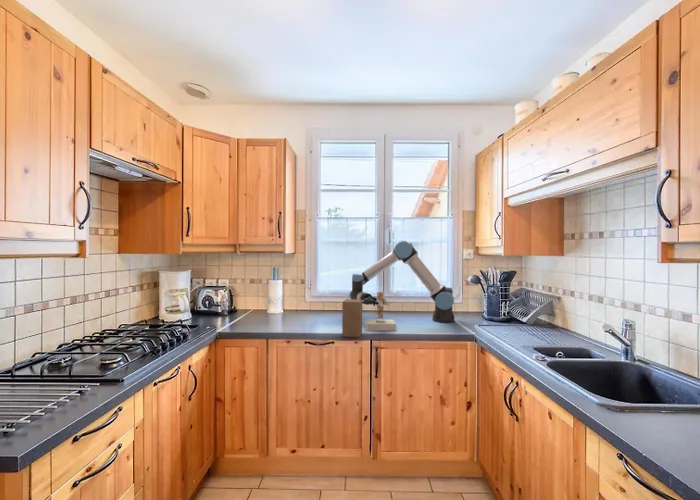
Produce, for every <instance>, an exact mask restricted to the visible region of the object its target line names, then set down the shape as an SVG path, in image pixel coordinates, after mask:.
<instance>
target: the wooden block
mask: <svg viewBox="0 0 700 500" xmlns="http://www.w3.org/2000/svg"><path fill="white" fill-rule="evenodd" d="M341 307H342V311H341V312H342V313H341V314H342V318H341V319H342V324H341V326H342V328H341V329H342V330H341V331H342V333H341V336H342V337H345V338H360V337H361V335H362V334H363V304H362V300H354V299H350V298H347V299H344V300H343V301H342V306H341Z"/></svg>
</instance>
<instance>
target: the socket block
mask: <svg viewBox="0 0 700 500" xmlns="http://www.w3.org/2000/svg"><path fill="white" fill-rule="evenodd" d="M365 328H366V331H368V332H370V331H372V332H373V331H377V332H378V331H381V332H382V331H386V332H387V331H388V332H389V331H394V332H396V331H397V323H396V321H395V319H386V318H385V319H383V318H377V319H371V318H370V319H369V318H367V319H365Z"/></svg>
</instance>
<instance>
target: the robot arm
mask: <svg viewBox="0 0 700 500" xmlns="http://www.w3.org/2000/svg"><path fill="white" fill-rule="evenodd" d="M418 255H419V253H418V251H417V250H416V249H415V247H414V245H413V244H412V242H410V241H409V240H406V239H405V240H404V239H403V240H399V241H398V242H397V243H396V244H395V246H394V247H393V249H392V250H391V252H389V253H388V254H387V255H385V256H384V257H383V258H381V259H380V260H378V261H377V262H376V263H374V264H373V265H372V266H370V267H369V268H367V269H366V270H364V271H362V273H352V274H351V275H352V276H351V291H350V292H349V293H348V294H349V295H348V297H349V299H354V300H362V305H366V306H367V305H373V307H374V306H375V307H376V306H377V305H378V306H383V302H381V301H377V297H375V296H372V294H371V293H368V292H365V291H363V289H364V285H366V284H367V283H368V282H369V281H371V280H372V279H374V278H375V277H377V276H378V275H379V274H381V273H382V272H383V271H385V270H387V269H388V268H390V267H391V266H392V265H394V264H395V263H397V262H399V261H402V263H403V264H406V265H408V266H409V268H410V269H411V271H412V272H413V273H414V274H415V275H416V277H417V278H418V279H419V280H420V282H421V283H422V284H423V285H424V287H425V288H426V289H427V291H428V292H429V297H430V298H431V299H432V301H433V302H434V311H433V313H432V321H433V322H437V323H447V324H448V323H453V322H455V321H456V317H455V314H454V311H453V305H454V303H455V298H454V296H453V295H454V294H453V292H454V291H453V287H446V286H445V285H444V284H441V283H440V282H439V281H438V279H437V278H436V277H435V276H434V274H433V273H432V272H431V270H429V268H428V267H427V266H426V264H425V263H424V262H423V261H422V260H421V258H420V257H419V256H418ZM384 306H387V307H389V306H390V301H389V300H386V299H385V298H384Z"/></svg>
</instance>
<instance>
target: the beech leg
mask: <svg viewBox="0 0 700 500" xmlns="http://www.w3.org/2000/svg"><path fill="white" fill-rule="evenodd" d="M376 298H377V301H381V302H383V306H378V305H376V313H377V314H376V315H377V317H376V318H377V319H383V318H384V306H385V305H384V299H385V292H384V291H376Z"/></svg>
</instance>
